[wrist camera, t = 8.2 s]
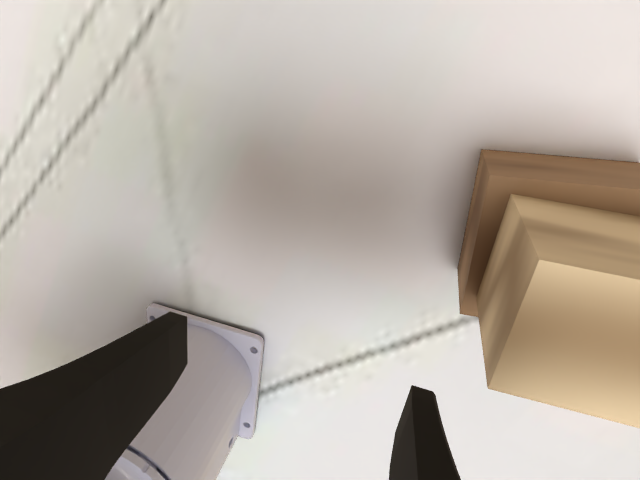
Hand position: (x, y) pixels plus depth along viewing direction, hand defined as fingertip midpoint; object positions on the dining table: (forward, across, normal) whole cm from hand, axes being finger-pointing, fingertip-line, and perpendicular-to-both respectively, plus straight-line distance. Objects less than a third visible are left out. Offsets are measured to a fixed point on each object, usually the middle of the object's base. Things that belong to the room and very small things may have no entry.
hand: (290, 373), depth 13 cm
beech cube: (+6, -8, -3) cm, 10 cm away
